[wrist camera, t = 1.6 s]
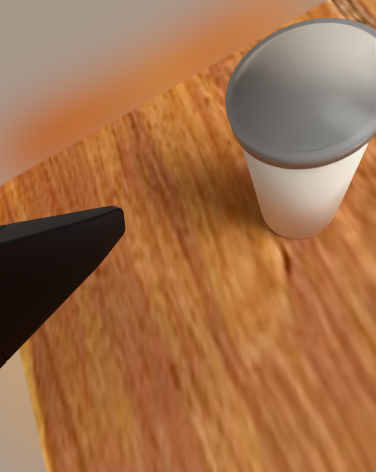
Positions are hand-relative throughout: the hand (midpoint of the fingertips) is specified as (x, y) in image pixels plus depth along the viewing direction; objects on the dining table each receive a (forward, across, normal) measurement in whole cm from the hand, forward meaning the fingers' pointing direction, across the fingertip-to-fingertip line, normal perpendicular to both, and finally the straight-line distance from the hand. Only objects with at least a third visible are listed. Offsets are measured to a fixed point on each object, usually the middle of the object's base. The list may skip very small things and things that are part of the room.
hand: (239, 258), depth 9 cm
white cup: (+14, 0, +4) cm, 14 cm away
